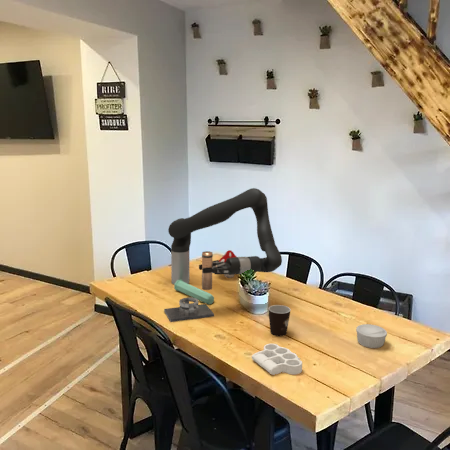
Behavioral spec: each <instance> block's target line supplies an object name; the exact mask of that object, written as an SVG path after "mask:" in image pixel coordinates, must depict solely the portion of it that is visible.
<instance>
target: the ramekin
mask: <svg viewBox="0 0 450 450" xmlns="http://www.w3.org/2000/svg"><path fill="white" fill-rule="evenodd" d="M355 330H356V339H357V342H358V344H359V345H361V346H363V347H365V348H369V349H370V348H371V349H378V348H381V347H382V346H384V344H385V341H386V338H387V335H388V332H387V330H386V329H385V328H383V327H382V326H379V325H376V324H371V323H370V324H369V323H364V324H359V325H357V327H356V329H355Z"/></svg>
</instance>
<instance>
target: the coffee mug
mask: <svg viewBox="0 0 450 450" xmlns="http://www.w3.org/2000/svg"><path fill="white" fill-rule="evenodd" d="M291 310H292V309H291V308H290V307H289V306H287V305H282V304H281V305H280V304H274V305H270V306H269V307H268V320H269V332H270V334H271V335H272V336H274V337H284V336H287V335H288V334H287V332H288V327H289V323H290V322H289V321H290V315H291Z"/></svg>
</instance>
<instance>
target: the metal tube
mask: <svg viewBox="0 0 450 450" xmlns="http://www.w3.org/2000/svg"><path fill="white" fill-rule="evenodd" d="M213 257H214V254H213V251H206V250H205V251H202V253H201V264H202V269H203V268H209V267H211V268H212V261H213ZM201 290H203V291H211V290H213V273H212V272H211V273H203V272H202V271H201Z"/></svg>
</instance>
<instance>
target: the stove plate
mask: <svg viewBox="0 0 450 450" xmlns="http://www.w3.org/2000/svg"><path fill="white" fill-rule="evenodd" d="M178 302H179V303H178V304H179V306H176V307H167V308H163V309H164V310H163V312H164V314H165V315H166V317H167V319H168V320H169V322H170V323H176V322H184V321H190V320H197V319H198V320H199V319H205V318H214V317H215V313H214V312H213V311H212V309H211V308H210V306H208V304H206V303H202V304H200V303H199V302H200V301H199V300H198V299H196V298H193V297H191V296H188V297H182V298H181V299H179V301H178Z"/></svg>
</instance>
